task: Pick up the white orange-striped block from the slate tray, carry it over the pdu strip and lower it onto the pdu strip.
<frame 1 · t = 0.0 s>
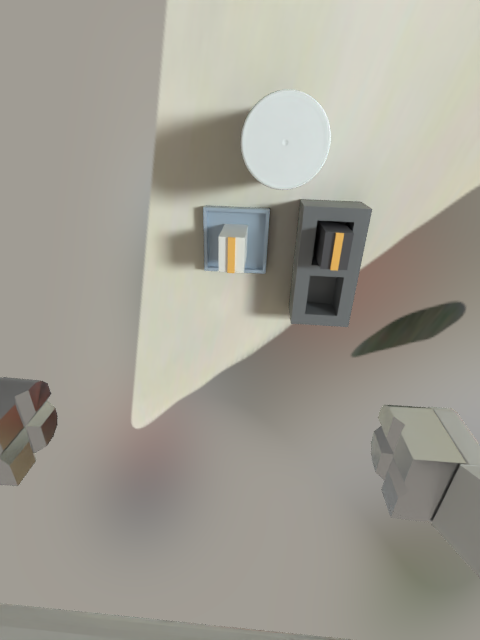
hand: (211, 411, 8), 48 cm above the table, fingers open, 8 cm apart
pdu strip: (322, 258, 55), on the table
white orange-striped block: (236, 240, 54), resting on slate tray
slate tray: (236, 239, 55), on the table
supplement tub: (281, 142, 48), on the table
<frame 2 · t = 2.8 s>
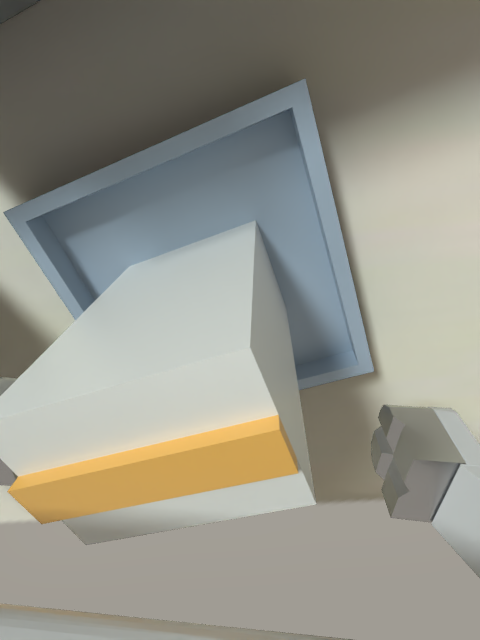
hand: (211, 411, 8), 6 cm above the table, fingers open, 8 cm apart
white orange-striped block: (209, 288, 13), resting on slate tray
slate tray: (210, 283, 13), on the table
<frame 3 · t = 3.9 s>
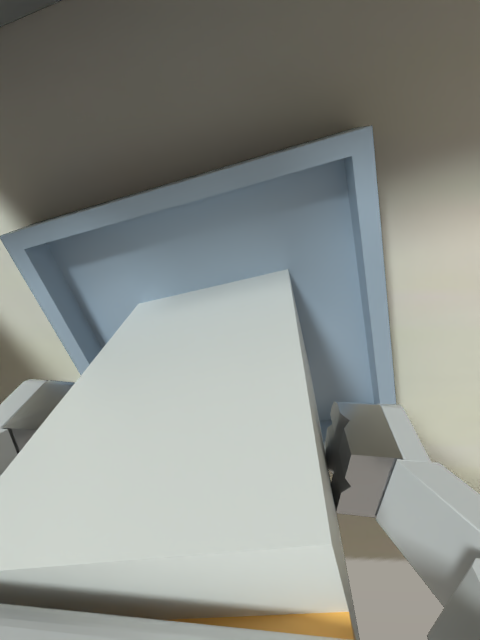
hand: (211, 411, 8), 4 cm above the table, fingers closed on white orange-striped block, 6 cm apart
white orange-striped block: (226, 335, 12), point 1 cm above the table, touching gripper, slate tray
slate tray: (227, 327, 12), on the table
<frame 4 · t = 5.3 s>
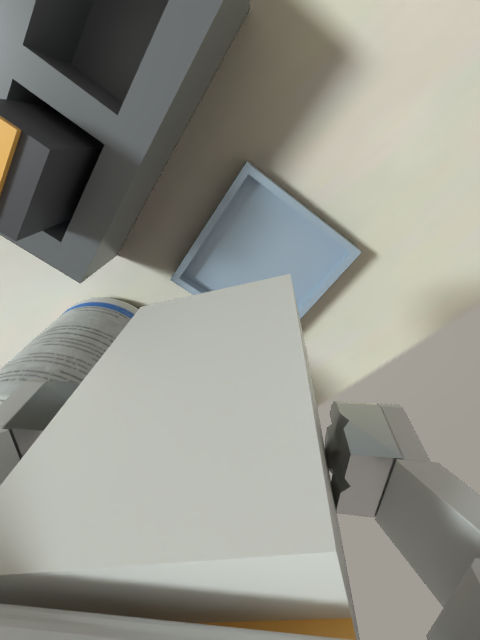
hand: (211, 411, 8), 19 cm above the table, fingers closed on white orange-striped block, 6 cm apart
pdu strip: (113, 107, 22), on the table
white orange-striped block: (227, 338, 12), point 16 cm above the table, touching gripper
slate tray: (262, 260, 26), on the table
supplement tub: (117, 341, 31), on the table
when the fingers open (9 cm above the table, at t = 7.3 s): white orange-striped block stays where it is, resting on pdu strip.
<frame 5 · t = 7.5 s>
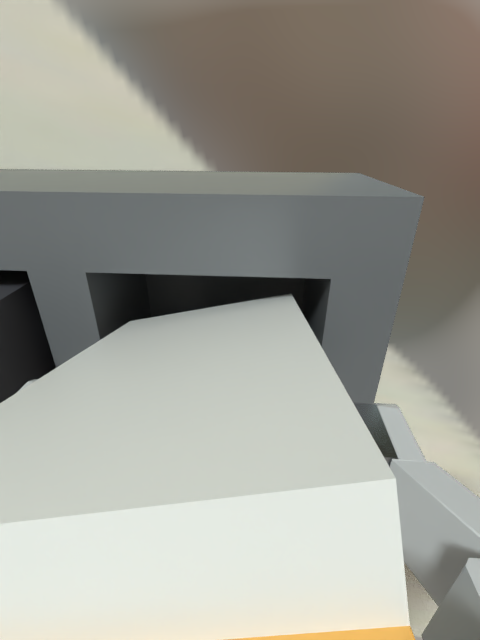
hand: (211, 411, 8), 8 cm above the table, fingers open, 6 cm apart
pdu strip: (140, 278, 15), on the table
white orange-striped block: (220, 363, 11), point 5 cm above the table, tilted 15°, touching gripper, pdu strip
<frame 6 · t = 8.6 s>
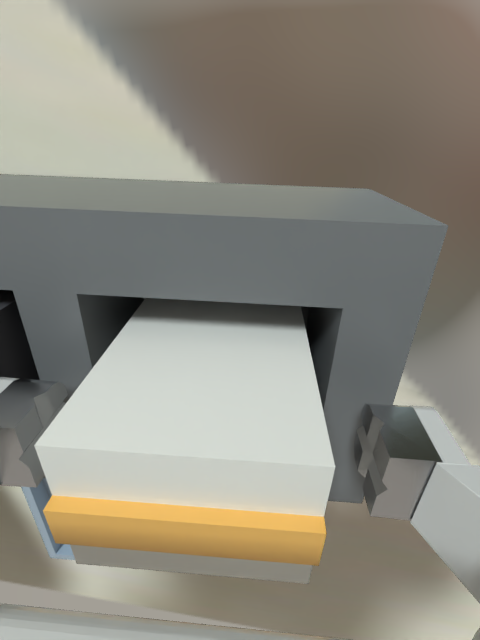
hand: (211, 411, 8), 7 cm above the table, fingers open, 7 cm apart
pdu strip: (137, 290, 15), on the table
white orange-striped block: (227, 322, 14), point 1 cm above the table, touching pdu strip
slate tray: (122, 494, 21), on the table
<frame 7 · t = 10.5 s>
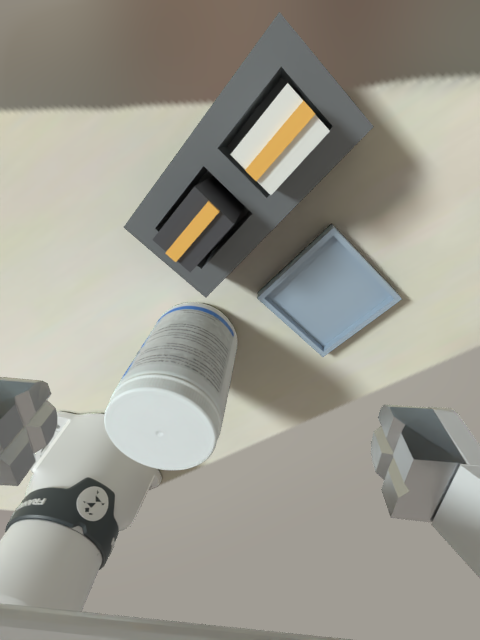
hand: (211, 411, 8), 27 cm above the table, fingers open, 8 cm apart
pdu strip: (243, 174, 31), on the table
white orange-striped block: (279, 140, 28), point 1 cm above the table, touching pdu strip
slate tray: (326, 292, 35), on the table
supplement tub: (199, 335, 40), on the table
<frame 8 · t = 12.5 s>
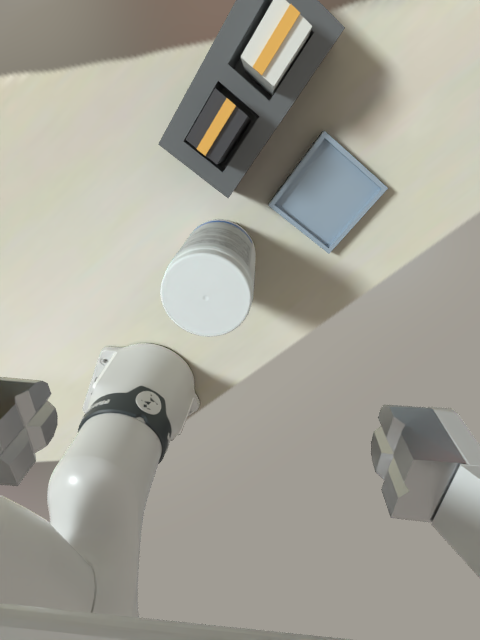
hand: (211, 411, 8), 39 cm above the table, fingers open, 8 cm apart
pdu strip: (247, 97, 38), on the table
white orange-striped block: (273, 61, 35), point 1 cm above the table, touching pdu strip
slate tray: (325, 195, 42), on the table
supplement tub: (222, 253, 47), on the table
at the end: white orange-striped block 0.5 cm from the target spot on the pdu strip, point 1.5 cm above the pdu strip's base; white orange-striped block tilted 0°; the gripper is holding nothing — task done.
